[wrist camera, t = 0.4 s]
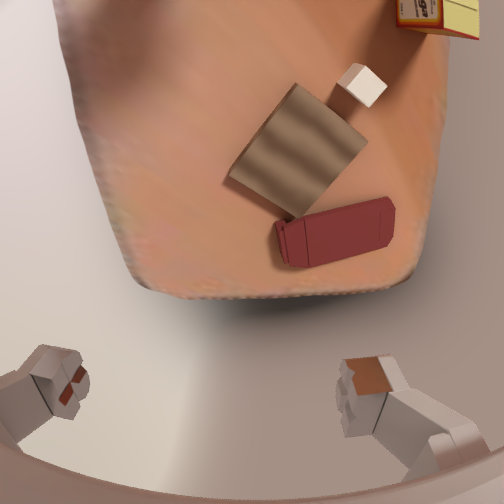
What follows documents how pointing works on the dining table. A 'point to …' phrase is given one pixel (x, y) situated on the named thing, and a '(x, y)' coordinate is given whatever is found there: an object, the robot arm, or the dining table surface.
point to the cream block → (362, 84)
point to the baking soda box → (440, 17)
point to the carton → (336, 233)
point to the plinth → (297, 152)
